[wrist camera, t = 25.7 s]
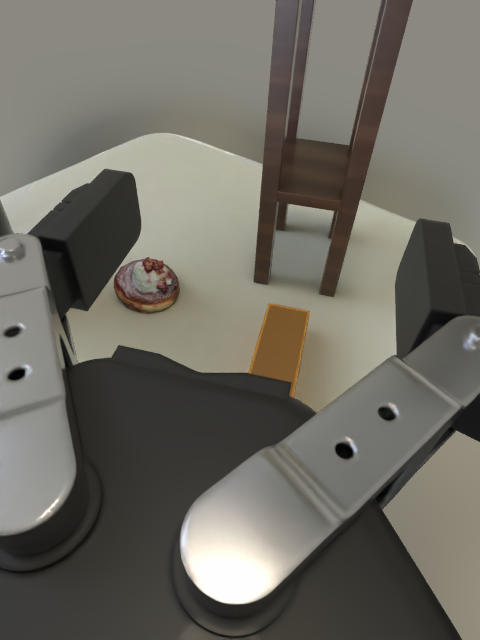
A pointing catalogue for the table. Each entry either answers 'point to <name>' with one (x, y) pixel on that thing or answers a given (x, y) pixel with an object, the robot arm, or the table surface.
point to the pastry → (146, 285)
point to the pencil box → (280, 344)
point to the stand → (314, 156)
